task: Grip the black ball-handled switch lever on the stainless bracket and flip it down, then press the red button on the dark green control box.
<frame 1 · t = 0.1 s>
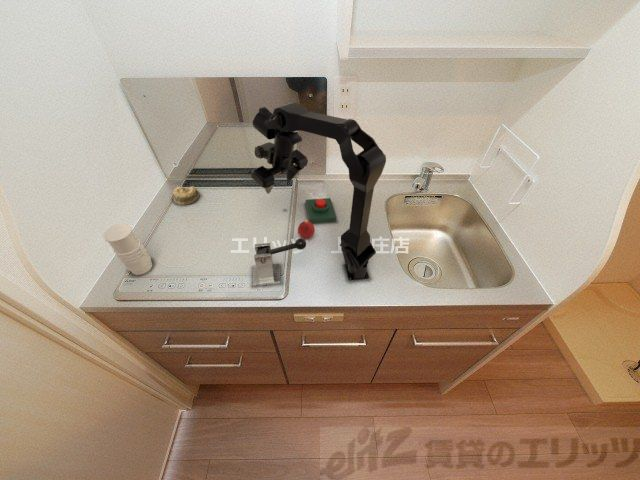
hand: (278, 187, 89), 15 cm above the countertop, tool pointing down, fingers open, 9 cm apart
candle: (142, 267, 83), on the countertop
button: (320, 203, 101), point 4 cm above the countertop, slide at 0.1 cm
cake: (187, 197, 108), on the countertop
control box: (320, 212, 105), on the countertop
onion: (306, 238, 95), on the countertop
lever: (282, 249, 75), point 11 cm above the countertop, hinge at 15.0°
bracket: (266, 275, 83), on the countertop
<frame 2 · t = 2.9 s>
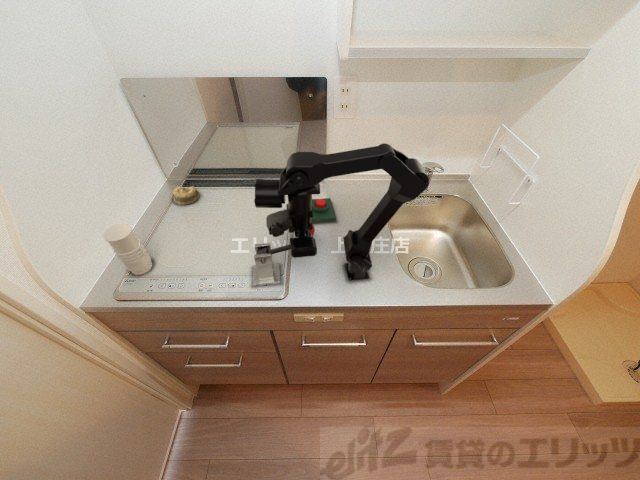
hand: (300, 248, 76), 11 cm above the countertop, tool pointing down, fingers closed on lever, 3 cm apart
lever: (282, 249, 75), point 11 cm above the countertop, hinge at 15.0°, touching gripper
everything else where it was.
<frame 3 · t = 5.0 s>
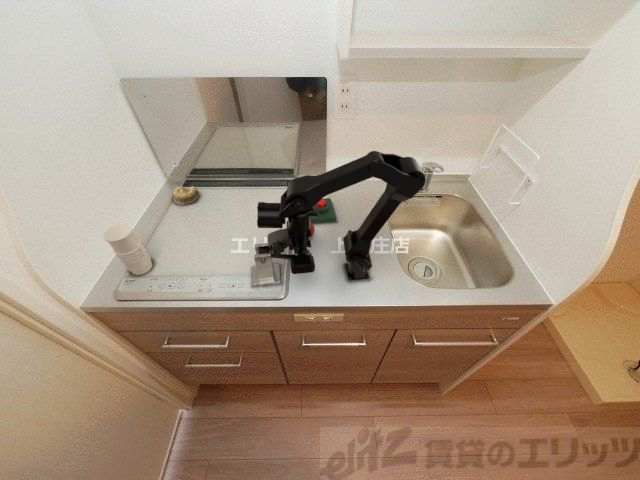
hand: (299, 263, 81), 4 cm above the countertop, tool pointing down, fingers closed on lever, 3 cm apart
lever: (282, 256, 77), point 8 cm above the countertop, hinge at -17.3°, touching gripper
everything else where it was.
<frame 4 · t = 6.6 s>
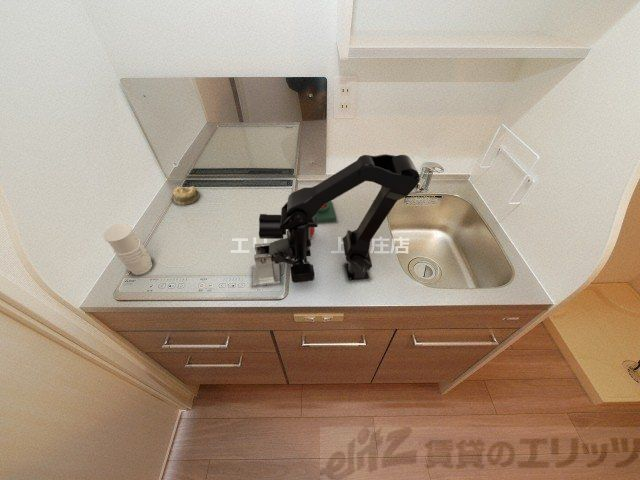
hand: (300, 271, 84), 1 cm above the countertop, tool pointing down, fingers open, 5 cm apart
lever: (281, 259, 78), point 7 cm above the countertop, hinge at -30.5°
everything else where it was.
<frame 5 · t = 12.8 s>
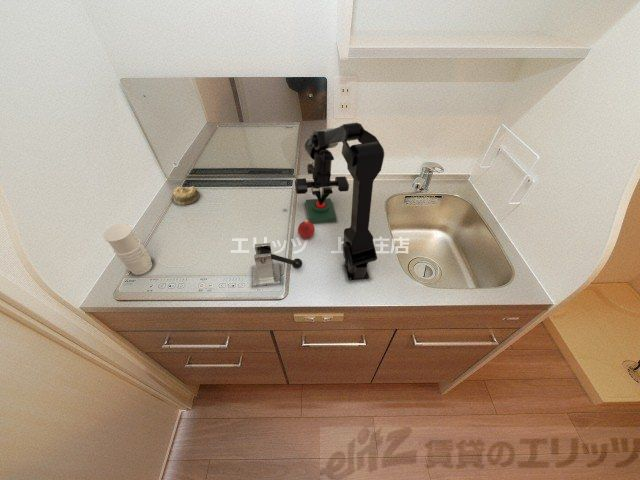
hand: (320, 203, 102), 4 cm above the countertop, tool pointing down, fingers closed, pressing on button
button: (320, 205, 102), point 4 cm above the countertop, slide at -0.8 cm, touching gripper
everything else where it was.
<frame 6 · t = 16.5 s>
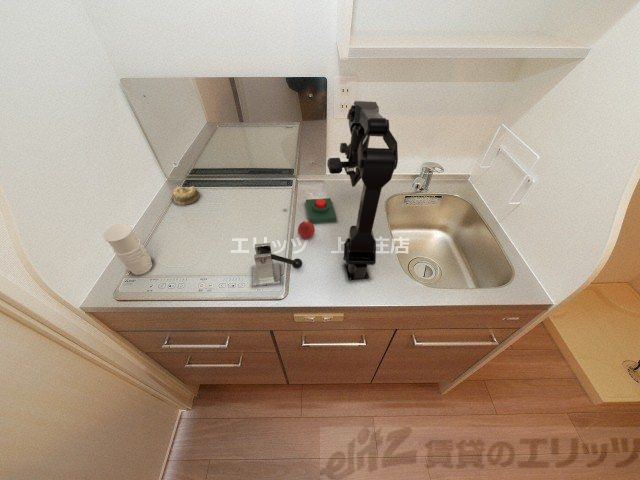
hand: (352, 186, 96), 13 cm above the countertop, tool pointing down, fingers closed
button: (320, 203, 101), point 5 cm above the countertop, slide at 0.1 cm
everything else where it was.
at the end: lever at -30° (first picture: +15°); button pushed in 1.1 cm at the most during the clip, back to where it started at the end; button slide at 0.1 cm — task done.
